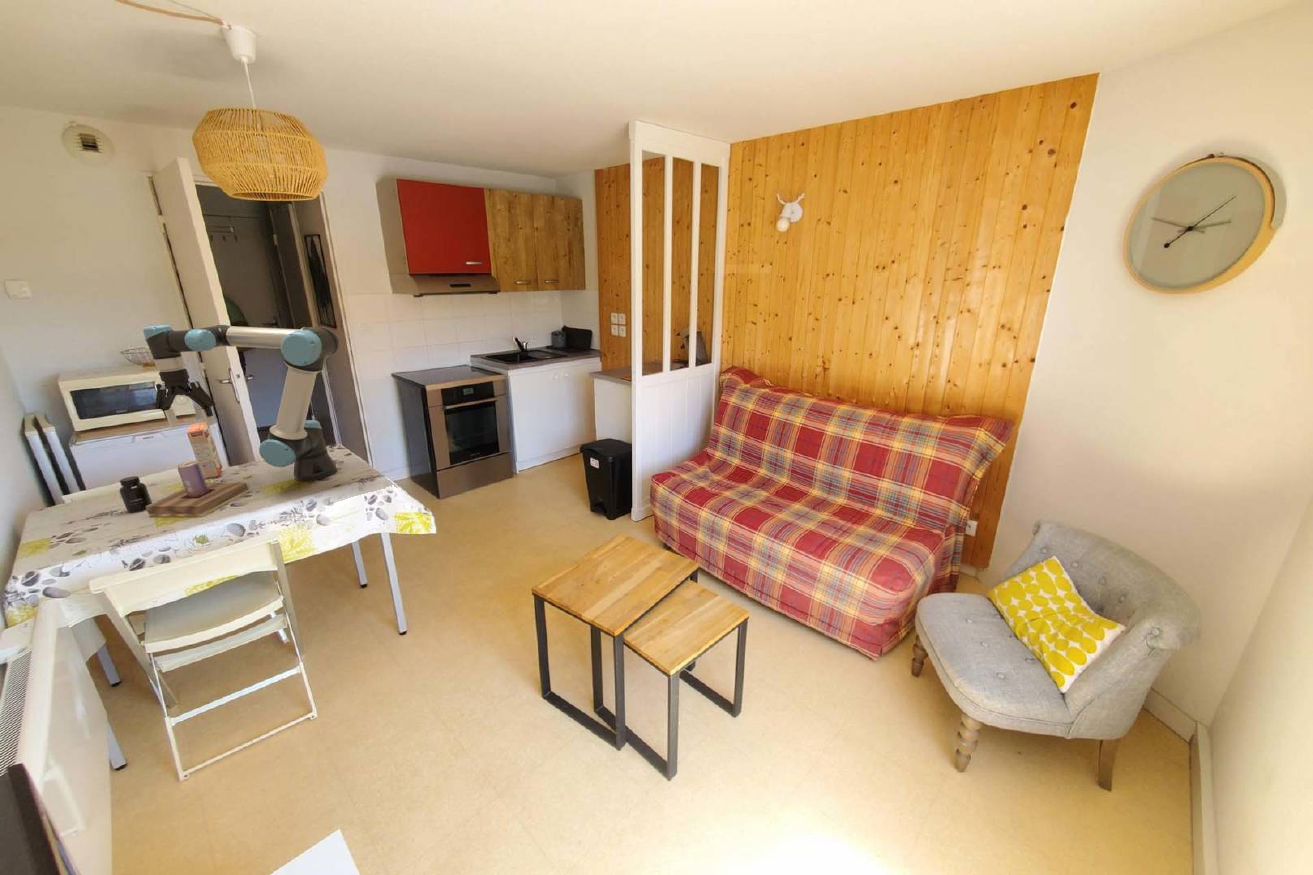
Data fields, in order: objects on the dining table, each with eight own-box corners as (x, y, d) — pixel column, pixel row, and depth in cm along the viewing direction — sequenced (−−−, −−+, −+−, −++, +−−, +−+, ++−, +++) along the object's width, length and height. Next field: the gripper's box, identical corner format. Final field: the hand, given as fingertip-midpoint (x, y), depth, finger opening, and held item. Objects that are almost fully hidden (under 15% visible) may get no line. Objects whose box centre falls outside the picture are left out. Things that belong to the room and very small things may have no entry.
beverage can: (215, 497, 189) (202, 460, 184) (200, 504, 183) (186, 466, 178) (201, 497, 189) (188, 460, 184) (186, 504, 184) (171, 466, 179)
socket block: (249, 491, 195) (246, 482, 194) (202, 516, 176) (198, 506, 175) (201, 491, 197) (197, 482, 195) (149, 516, 178) (145, 506, 176)
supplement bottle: (137, 513, 180) (124, 483, 176) (122, 512, 182) (109, 482, 178) (158, 504, 187) (146, 475, 183) (144, 503, 188) (131, 474, 184)
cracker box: (221, 476, 212) (204, 429, 205) (202, 479, 208) (185, 432, 201) (223, 466, 222) (208, 421, 215) (206, 469, 219) (189, 424, 212)
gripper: (215, 366, 183) (233, 421, 190) (148, 368, 184) (169, 424, 191) (197, 370, 176) (217, 427, 183) (127, 373, 176) (150, 430, 183)
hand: (193, 425), depth 187 cm, fingers open, 13 cm apart
